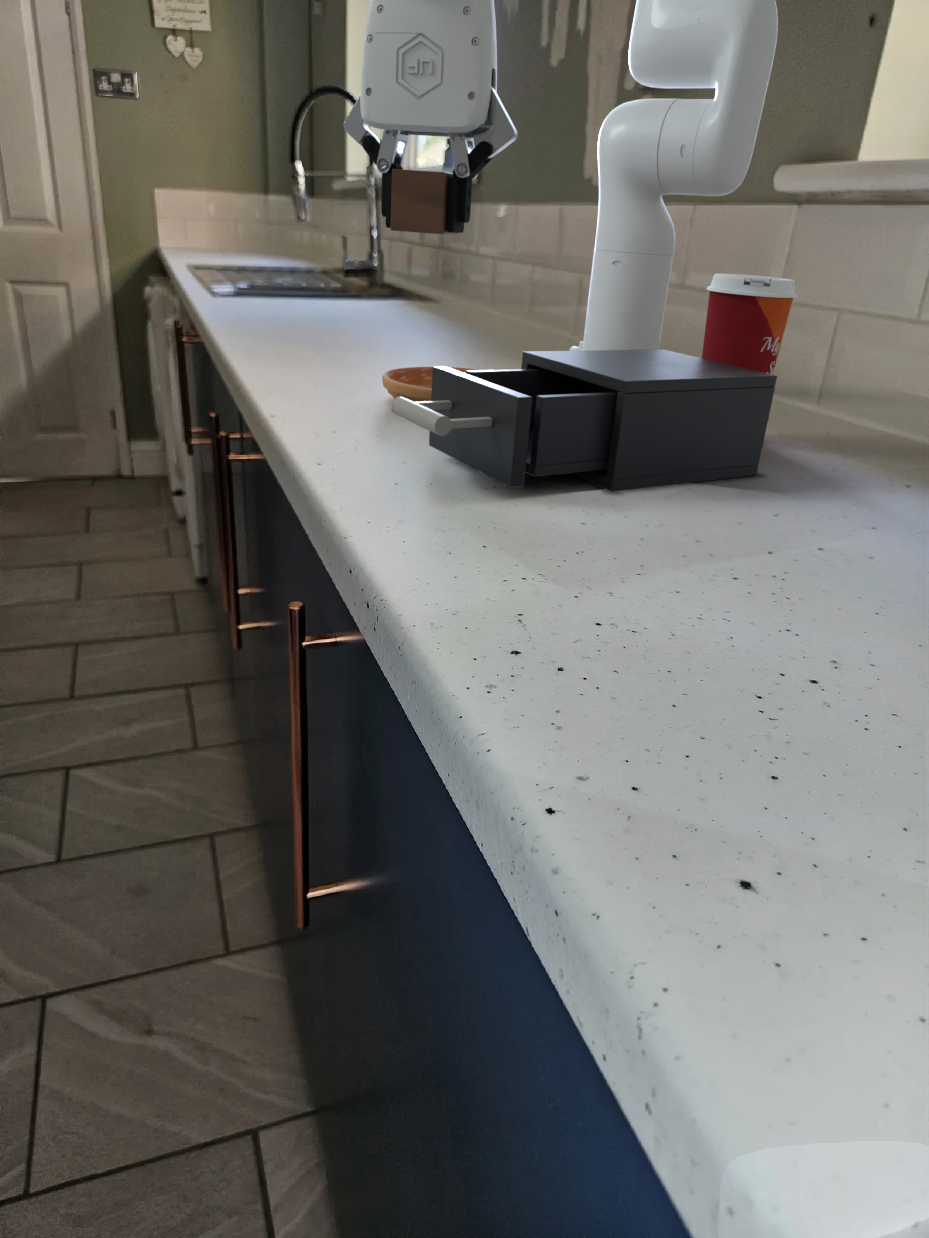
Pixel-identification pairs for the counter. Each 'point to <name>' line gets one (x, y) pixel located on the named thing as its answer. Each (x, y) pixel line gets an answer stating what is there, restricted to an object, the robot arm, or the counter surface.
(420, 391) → the saucer
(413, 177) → the block
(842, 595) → the counter surface
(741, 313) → the coffee cup
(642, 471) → the dark grey drawer cabinet
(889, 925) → the counter surface
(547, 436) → the drawer
